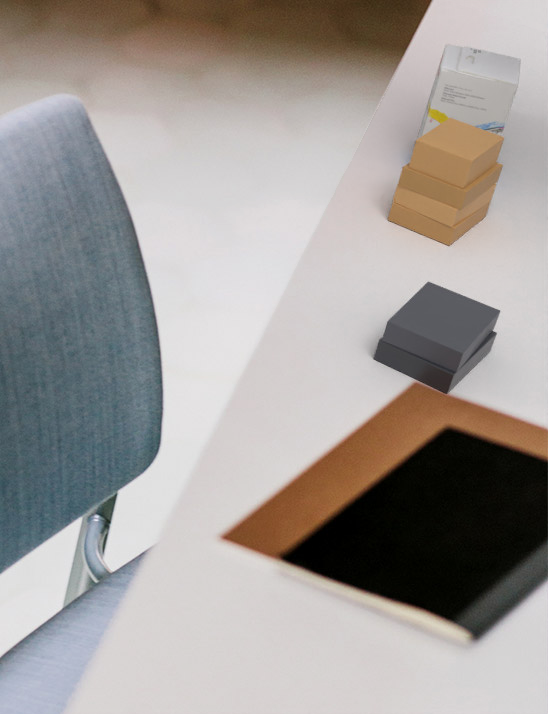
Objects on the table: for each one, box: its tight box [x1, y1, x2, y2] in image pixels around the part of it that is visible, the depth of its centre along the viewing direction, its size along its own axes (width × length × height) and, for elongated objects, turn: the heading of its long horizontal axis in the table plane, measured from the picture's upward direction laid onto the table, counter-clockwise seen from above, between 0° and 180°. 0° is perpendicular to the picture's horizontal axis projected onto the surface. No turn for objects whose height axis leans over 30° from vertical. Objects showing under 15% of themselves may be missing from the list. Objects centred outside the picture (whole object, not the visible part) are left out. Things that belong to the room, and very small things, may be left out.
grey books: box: [373, 281, 501, 395], centre depth 102 cm, size 7×9×4 cm
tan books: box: [387, 161, 504, 247], centre depth 122 cm, size 7×9×6 cm
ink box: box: [416, 43, 522, 140], centre depth 131 cm, size 9×8×12 cm
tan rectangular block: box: [409, 118, 505, 189], centre depth 119 cm, size 6×8×3 cm
